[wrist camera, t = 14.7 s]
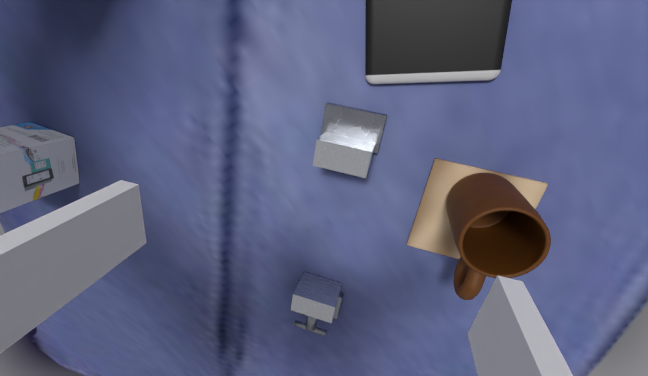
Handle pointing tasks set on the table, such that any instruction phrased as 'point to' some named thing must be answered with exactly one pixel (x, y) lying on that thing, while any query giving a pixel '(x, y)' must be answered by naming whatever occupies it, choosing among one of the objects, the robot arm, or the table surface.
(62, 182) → the ink box
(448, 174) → the coaster
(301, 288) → the grey angular pieces
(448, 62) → the smartphone
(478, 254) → the mug
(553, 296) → the table surface
